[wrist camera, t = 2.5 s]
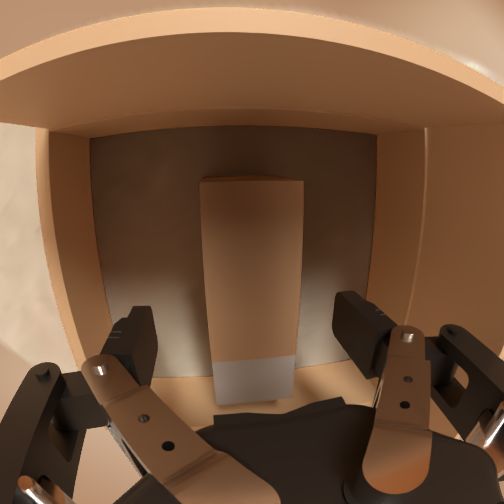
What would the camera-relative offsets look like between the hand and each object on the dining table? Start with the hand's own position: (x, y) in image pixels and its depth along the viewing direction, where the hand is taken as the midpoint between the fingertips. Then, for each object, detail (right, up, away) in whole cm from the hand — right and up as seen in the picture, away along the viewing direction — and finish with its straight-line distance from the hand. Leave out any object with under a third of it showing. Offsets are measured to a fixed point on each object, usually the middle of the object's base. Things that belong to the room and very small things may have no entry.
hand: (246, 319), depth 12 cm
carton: (0, +2, +6) cm, 6 cm away
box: (0, +2, +6) cm, 6 cm away
